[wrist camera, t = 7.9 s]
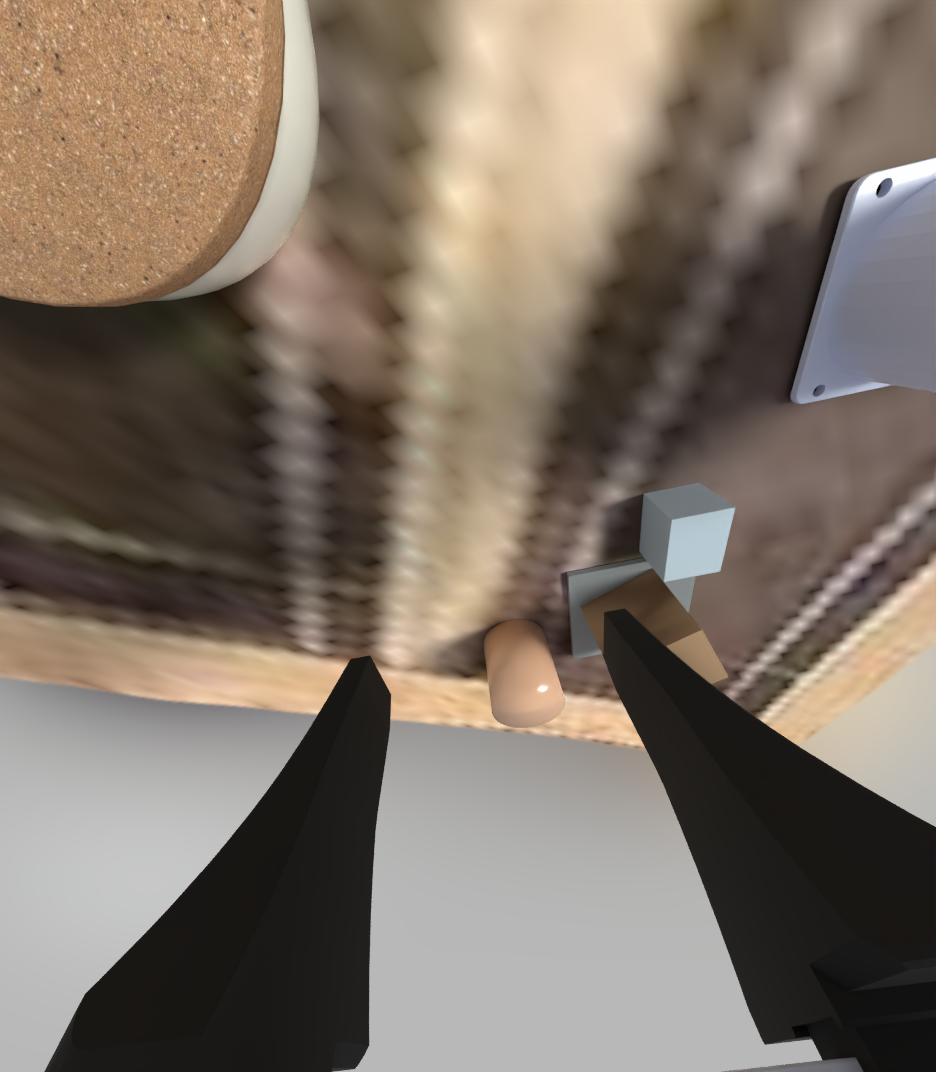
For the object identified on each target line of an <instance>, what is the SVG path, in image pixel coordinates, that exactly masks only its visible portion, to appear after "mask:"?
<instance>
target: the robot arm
mask: <svg viewBox="0 0 936 1072" xmlns="http://www.w3.org/2000/svg"><path fill="white" fill-rule="evenodd" d="M880 183H881V189H880V191H879V193H878V195H876V190H877V188H878V186H879V184H880ZM890 385H895V386H900V387H906V388H912V389H917V390H923V391H929V392H934V393H936V158H932V159H928V160H924V161H920V162H916V163H911V164H907V165H903V166H899V167H895V168H891V169H887V170H883V171H879V172H875V173H871V174H868V175H865V176H863V177H861V178H859V179H858V180H857V181H856V182H855V183H854V184H853V185H852V187H851V188H850V189H849V191H848V194H847V196H846V199H845V203H844V206H843V210H842V213H841V217H840V221H839V224H838V228H837V231H836V235H835V238H834V242H833V245H832V249H831V253H830V256H829V260H828V263H827V267H826V270H825V274H824V277H823V281H822V285H821V288H820V292H819V295H818V299H817V302H816V306H815V309H814V313H813V317H812V320H811V324H810V327H809V331H808V334H807V338H806V341H805V345H804V349H803V352H802V356H801V359H800V363H799V366H798V370H797V373H796V377H795V381H794V384H793V388H792V391H791V397H790V398H791V400H792V401H793V402H795V403H798V404H805V403H810V402H815V401H819V400H824V399H829V398H834V397H838V396H843V395H848V394H853V393H857V392H862V391H867V390H871V389H876V388H881V387H886V386H890ZM817 386H818V388H817V390H816V391H815V392H814V393H813V391H814V389H815V388H816V387H817ZM603 657H604V659H605V662H606V665H607V667H608V670H609V673H610V675H611V678H612V681H613V683H614V686H615V688H616V691H617V693H618V695H619V697H620V699H621V701H622V703H623V705H624V707H625V709H626V711H627V713H628V715H629V717H630V718H631V720H632V722H633V724H634V726H635V728H636V730H637V732H638V734H639V736H640V738H641V740H642V742H643V744H644V746H645V748H646V750H647V752H648V754H649V756H650V758H651V760H652V762H653V764H654V766H655V768H656V770H657V772H658V774H659V776H660V778H661V780H662V783H663V785H664V787H665V789H666V792H667V794H668V797H669V799H670V802H671V804H672V806H673V809H674V812H675V814H676V816H677V819H678V821H679V824H680V826H681V829H682V831H683V834H684V836H685V839H686V841H687V843H688V846H689V849H690V851H691V854H692V856H693V859H694V862H695V864H696V866H697V869H698V872H699V874H700V877H701V879H702V882H703V885H704V888H705V890H706V893H707V895H708V898H709V901H710V904H711V906H712V909H713V911H714V914H715V917H716V919H717V922H718V925H719V927H720V930H721V933H722V936H723V939H724V941H725V944H726V947H727V950H728V952H729V955H730V958H731V961H732V964H733V966H734V969H735V972H736V975H737V977H738V980H739V983H740V986H741V989H742V992H743V995H744V997H745V1000H746V1003H747V1006H748V1009H749V1011H750V1013H751V1016H752V1018H753V1020H754V1022H755V1025H756V1027H757V1029H758V1031H759V1034H760V1036H761V1038H762V1041H763V1042H764V1044H774V1043H782V1042H792V1041H800V1040H809V1039H812V1040H813V1042H814V1044H815V1045H816V1048H817V1050H818V1052H819V1054H820V1056H821V1058H822V1061H813V1062H804V1063H796V1064H786V1065H778V1066H770V1067H760V1068H751V1069H743V1070H733V1071H725V1072H936V827H935V826H933V825H931V824H929V823H927V822H925V821H923V820H922V819H920V818H918V817H916V816H914V815H912V814H911V813H909V812H907V811H905V810H904V809H902V808H900V807H898V806H897V805H895V804H893V803H891V802H890V801H888V800H886V799H885V798H883V797H881V796H879V795H877V794H876V793H874V792H872V791H871V790H869V789H867V788H865V787H864V786H862V785H860V784H859V783H857V782H855V781H854V780H852V779H851V778H849V777H847V776H846V775H844V774H842V773H840V772H839V771H837V770H836V769H834V768H832V767H831V766H829V765H828V764H826V763H824V762H823V761H821V760H819V759H818V758H816V757H815V756H813V755H811V754H810V753H808V752H807V751H805V750H803V749H802V748H800V747H799V746H797V745H796V744H794V743H793V742H791V741H790V740H788V739H787V738H785V737H784V736H782V735H781V734H779V733H778V732H776V731H775V730H773V729H772V728H770V727H769V726H767V725H766V724H765V723H763V722H762V721H760V720H759V719H757V718H756V717H755V716H753V715H752V714H750V713H749V712H747V711H746V710H745V709H743V708H742V707H741V706H739V705H738V704H737V703H735V702H734V701H733V700H731V699H730V698H729V697H727V696H726V695H725V694H723V693H722V692H721V691H720V690H718V689H717V688H716V687H714V686H713V685H712V684H711V683H709V682H708V681H707V680H706V679H704V678H703V677H702V676H701V675H699V674H698V673H697V672H696V671H694V670H693V669H692V668H691V667H690V666H689V665H687V664H686V663H685V662H684V661H683V660H682V659H680V658H679V657H678V656H677V655H676V654H674V653H673V652H672V651H671V650H670V649H669V648H668V647H666V646H665V645H664V644H663V643H662V642H661V641H660V640H659V639H658V638H657V637H655V636H654V635H653V634H652V633H651V632H650V631H649V630H648V629H647V628H646V627H645V626H644V625H643V624H642V623H641V622H639V621H638V620H637V619H636V618H635V617H634V616H633V615H632V614H631V613H630V612H629V611H628V610H627V609H625V608H624V609H618V610H613V611H607V612H604V651H603ZM390 713H391V694H390V692H389V690H388V688H387V686H386V684H385V682H384V681H383V679H382V677H381V675H380V673H379V671H378V669H377V668H376V666H375V664H374V662H373V660H372V658H371V656H365V657H360V658H355V659H351V660H350V661H349V663H348V665H347V666H346V668H345V670H344V671H343V673H342V675H341V677H340V678H339V680H338V682H337V684H336V685H335V687H334V689H333V690H332V692H331V694H330V695H329V697H328V699H327V701H326V702H325V704H324V706H323V707H322V709H321V711H320V712H319V714H318V715H317V717H316V719H315V721H314V722H313V724H312V726H311V727H310V728H309V730H308V732H307V734H306V735H305V736H304V738H303V740H302V741H301V743H300V744H299V746H298V747H297V749H296V750H295V752H294V753H293V755H292V756H291V758H290V759H289V760H288V762H287V763H286V765H285V767H284V768H283V769H282V771H281V772H280V774H279V775H278V777H277V778H276V779H275V781H274V782H273V784H272V785H271V786H270V788H269V789H268V790H267V792H266V793H265V794H264V796H263V797H262V798H261V800H260V801H259V802H258V804H257V805H256V806H255V808H254V809H253V810H252V812H251V813H250V814H249V815H248V817H247V818H246V819H245V820H244V822H243V823H242V824H241V825H240V827H239V828H238V829H237V830H236V832H235V833H234V834H233V835H232V837H231V838H230V839H229V840H228V841H227V843H226V844H225V845H224V846H223V848H222V849H221V850H220V851H219V852H218V853H217V855H216V856H215V857H214V858H213V860H212V861H211V862H210V863H209V864H208V865H207V866H206V867H205V869H204V870H203V871H202V872H201V873H200V874H199V875H198V876H197V878H196V879H195V880H194V881H193V882H192V883H191V884H190V885H189V886H188V888H187V889H186V890H185V891H184V892H183V893H182V895H180V897H179V898H178V899H177V900H176V901H175V902H174V903H173V905H171V907H170V908H169V909H168V910H167V911H166V912H165V913H164V914H163V915H162V916H161V917H160V918H159V919H158V921H157V922H156V923H155V924H154V925H153V926H152V927H151V928H150V929H149V930H148V931H147V932H146V933H145V934H144V935H143V936H142V937H141V938H140V939H139V940H138V941H137V942H136V943H135V944H134V945H133V946H132V947H131V948H130V949H129V950H128V951H127V952H126V954H124V955H123V956H122V958H121V959H120V960H119V961H118V962H117V963H116V964H115V965H114V966H113V967H112V968H111V969H110V970H109V971H108V972H107V973H106V974H105V975H104V976H103V977H102V978H101V979H100V980H99V981H98V982H97V983H96V984H95V985H94V986H93V987H92V988H91V989H90V990H89V991H88V992H87V993H86V994H85V995H84V997H83V999H82V1001H81V1003H80V1004H79V1006H78V1008H77V1010H76V1012H75V1014H74V1016H73V1018H72V1020H71V1022H70V1024H69V1026H68V1028H67V1030H66V1031H65V1033H64V1035H63V1037H62V1039H61V1041H60V1043H59V1045H58V1047H57V1049H56V1051H55V1053H54V1055H53V1057H52V1058H51V1060H50V1062H49V1064H48V1066H47V1068H46V1070H45V1072H333V1071H341V1070H350V1069H355V1068H356V1067H357V1066H358V1064H359V1063H360V1061H361V1059H362V1058H363V1056H364V1055H365V1053H366V1050H367V1048H368V1046H369V959H370V923H371V922H370V919H371V898H372V877H373V860H374V844H375V830H376V821H377V813H378V806H379V798H380V792H381V786H382V779H383V772H384V765H385V759H386V752H387V745H388V738H389V731H390Z"/></svg>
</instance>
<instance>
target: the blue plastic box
mask: <svg viewBox="0 0 936 1072" xmlns="http://www.w3.org/2000/svg"><path fill="white" fill-rule="evenodd" d="M734 511H735V507H734V506H733V505H731V504H730V503H728V502H727V501H725V500H724V499H722V498H721V497H719V496H718V495H717V494H715V493H714V492H712V491H711V490H709V489H708V488H706V487H705V486H703V485H702V484H700V483H694V484H689V485H684V486H679V487H674V488H669V489H665V490H660V491H655V492H650V493H645V494H644V495H643V508H642V522H641V535H640V548H639V552H640V553H641V554H642V556H643V557H644V558H645V559H646V561H647V562H648V563H649V564H650V565H651V567H652V568H653V569H654V570H655V572H656V573H657V574H658V575H659V577H660V578H661V579H662V580H663V582H667V581H672V580H677V579H683V578H688V577H693V576H698V575H704V574H709V573H714V572H719V571H720V570H721V565H722V561H723V557H724V553H725V549H726V544H727V540H728V536H729V532H730V527H731V523H732V519H733V515H734Z"/></svg>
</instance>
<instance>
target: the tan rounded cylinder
mask: <svg viewBox="0 0 936 1072" xmlns="http://www.w3.org/2000/svg"><path fill="white" fill-rule="evenodd" d="M484 651H485V659H486V667H487V675H488V683H489V691H490V699H491V707H492V714H493V716H494V718H495V719H496V720H497V721H498V722H500V723H502V724H504V725H506V726H510V727H516V728H528V727H534V726H538V725H542V724H545V723H547V722H549V721H551V720H553V719H554V718H556V717H557V716H558V715H559V714H560V713H561V712H562V710H563V709H564V706H565V698H564V695H563V691H562V688H561V685H560V682H559V679H558V675H557V672H556V669H555V666H554V663H553V660H552V656H551V653H550V650H549V647H548V644H547V640H546V637H545V634H544V632H543V630H542V628H541V627H540V626H538V625H537V624H535V623H533V622H531V621H527V620H509V621H505V622H502V623H500V624H498V625H496V626H495V627H493V628H492V629H491V630H490V631H489V632H488V633H487V635H486V636H485V639H484Z"/></svg>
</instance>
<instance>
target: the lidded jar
mask: <svg viewBox="0 0 936 1072" xmlns="http://www.w3.org/2000/svg"><path fill="white" fill-rule="evenodd" d="M318 130H319V100H318V76H317V67H316V57H315V50H314V44H313V37H312V30H311V23H310V16H309V10H308V3H307V0H0V296H3V297H6V298H10V299H14V300H20V301H27V302H33V303H39V304H45V305H51V306H61V307H115V306H124V305H129V304H135V303H140V302H145V301H162V300H176V299H181V298H186V297H191V296H196V295H202V294H206V293H209V292H213V291H217V290H220V289H222V288H224V287H227V286H229V285H231V284H234V283H236V282H238V281H241V280H242V279H244V278H245V277H247V276H248V275H250V274H251V273H253V272H254V271H255V270H257V269H258V268H260V267H261V266H262V265H264V264H265V263H267V262H268V261H269V260H270V259H271V258H272V257H273V256H274V255H275V253H276V252H277V251H278V250H279V249H280V248H281V247H282V246H283V244H284V243H285V242H286V240H287V239H288V237H289V235H290V234H291V232H292V230H293V229H294V227H295V225H296V223H297V222H298V220H299V218H300V215H301V213H302V210H303V207H304V204H305V202H306V199H307V196H308V194H309V191H310V186H311V182H312V177H313V172H314V167H315V162H316V158H317V144H318Z"/></svg>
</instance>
